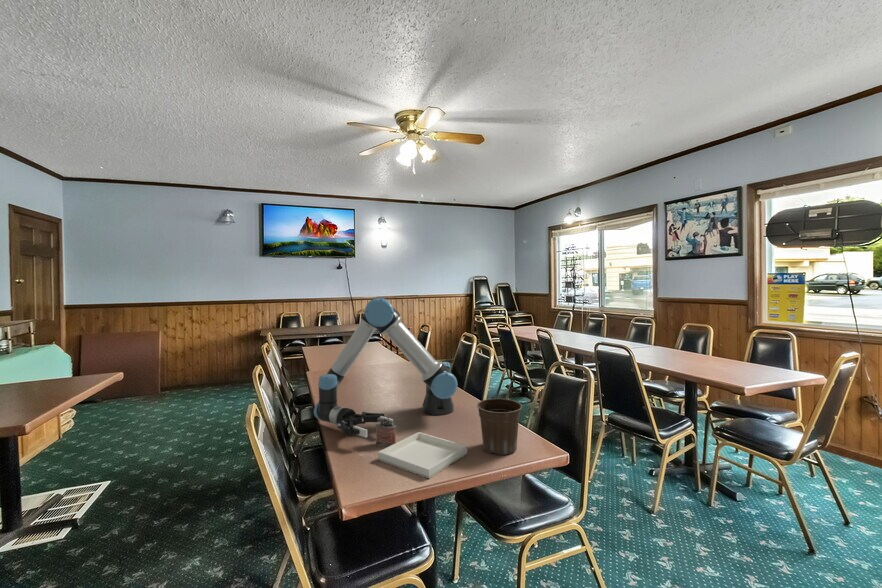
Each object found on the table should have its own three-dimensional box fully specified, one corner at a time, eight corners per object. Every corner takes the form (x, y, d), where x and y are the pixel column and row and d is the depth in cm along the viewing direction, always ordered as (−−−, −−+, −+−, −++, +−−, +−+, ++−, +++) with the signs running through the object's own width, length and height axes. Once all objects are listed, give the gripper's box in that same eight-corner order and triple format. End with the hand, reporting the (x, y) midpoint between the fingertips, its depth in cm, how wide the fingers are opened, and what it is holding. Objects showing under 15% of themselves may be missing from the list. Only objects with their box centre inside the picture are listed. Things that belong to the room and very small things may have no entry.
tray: (418, 439, 150) (418, 431, 150) (467, 454, 137) (467, 445, 137) (378, 460, 132) (378, 451, 132) (429, 479, 119) (429, 469, 119)
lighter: (397, 444, 145) (397, 418, 145) (393, 448, 142) (393, 421, 142) (378, 441, 148) (378, 415, 148) (374, 445, 145) (374, 418, 144)
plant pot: (491, 461, 131) (491, 414, 131) (469, 443, 146) (469, 401, 145) (530, 453, 137) (531, 408, 137) (505, 437, 152) (506, 396, 152)
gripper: (365, 417, 168) (402, 428, 156) (317, 435, 148) (354, 449, 136) (365, 400, 168) (402, 409, 156) (317, 416, 148) (354, 428, 136)
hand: (380, 428), depth 146 cm, fingers open, 13 cm apart
